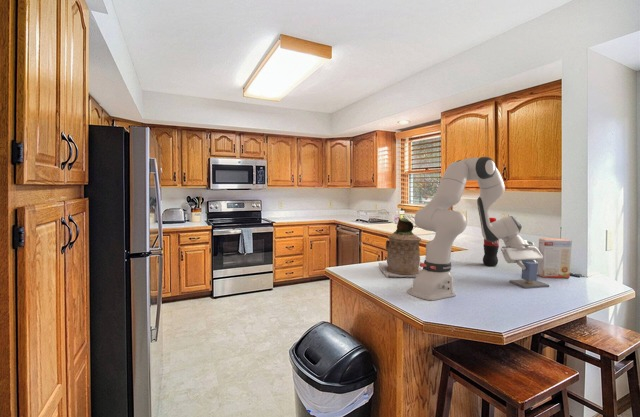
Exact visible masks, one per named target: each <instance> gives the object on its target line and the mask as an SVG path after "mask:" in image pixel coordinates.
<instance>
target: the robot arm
mask: <svg viewBox="0 0 640 417" xmlns="http://www.w3.org/2000/svg"><path fill="white" fill-rule="evenodd" d="M467 181H477V183H478V187H479V190H480V192H479V196H478V197H477V199H476V204H477V210H478V215H479V221H480V228H481V234H482V237H483V240H484V239H485V240H486V241H489V242H495V241H497V240H499V241H500V240H502V241H503V244H504V245H503V246H501V247H500V251H501V254H502V256H503V258H504V261H505V262H506V263H508V264H516V265H518V266H519V267H520V268H521V270H522V269H523V270H526V269H528V268H527V266H526V265H524V264H523V263H522V262H523V261H531V262H535V263H538V262H539V261H541V260H542V259H543V256H542V254H541V253H540V251H539V250H538V247H537V246H536V245H535V243H534V242H533V241H530V240H526V239H523V238H522V236H521V235H520V233H521V231H522V224H521V223H520V221H519V219H517V217H515V216H512V215H508V216H505V217H503V218H500V219H498V220H497V219H496V221H494V222H492V223H490V220H489V218H490V214H489V210H490V208H491V207H492V206H493V205H494V204H495V203H496V202H497V201H498V200H500V199H501V198H502V197H503V195H504V193H505V191H506V186H505V182H504V179H503V177H502V175H501V172H500V171H499V170H498V168H497V165H496V162H495V160H493V158H491V157H489V156H480V157H468V158H464V159H459V160H456V161H453V162H451V163H450V164H448V166H447V167H446V169H445V171H444V173H443V175H442V177H441V179H440V182H439V185H438V187H437V190H436V192H435V194H434V196H433V197H432V198H431V200H430V201H428V203H426V205H424V206H423V207H422V208H420V209H418V210H417V211H416V212H415V214H414V223H415V225H416V227H417V228H420V229H422V230H423V231H424V230H425V231H428V232H433V233H435V234H434V238H433V239H431V240H429V241H428V242H427V243H426V246H425V256H424V258H425V259H424V261H423V262H420V264H419V268H421V269H422V271H421V272H420V273H419V274H418V275H417V276H416V277H414V278H413V282H412V287H410V288H408V289H406V290H407V291H406V292H407V294H409V295H411V296H413V297H416V298H419V299H421V300H426V301H437V300H443V299H447V298H452V297H456V295H457V294H456V292H455V291H454V278H453V275H452V273H451V270H452V262H451V256H452V246H453V243H454V241H455V240H456V238H457V237H458V236H459V235H460V234H463V232H464V231H465V230H466V228H467V224H468V220H467V218H466V215H465V214H464V213H463V212H460V211H458V210H453V209H450V208H452V207H453V206H456V205H457V204H458V203H460V201H461V199H462V196H463V193H464V189H465V188H466V185H467Z"/></svg>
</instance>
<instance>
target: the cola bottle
mask: <svg viewBox="0 0 640 417" xmlns="http://www.w3.org/2000/svg"><path fill="white" fill-rule="evenodd" d="M489 220H490V223H492V222H494V221H497V218H496V217H489ZM499 244H500V239H499V240H497V241H495V242H489V241H486V240H485V239H484V238H483V251H484V252H483V253H484V254H483V257H482V263H483V265H484V266H487V267H496V266H497V265H498V263H499V258H498V251H499V248H500V246H499Z"/></svg>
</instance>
